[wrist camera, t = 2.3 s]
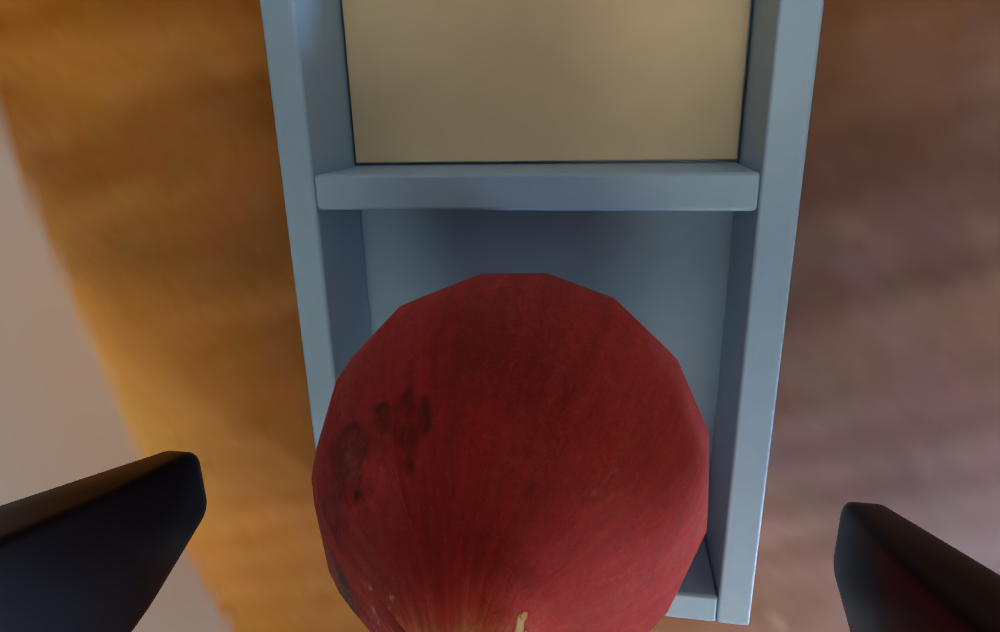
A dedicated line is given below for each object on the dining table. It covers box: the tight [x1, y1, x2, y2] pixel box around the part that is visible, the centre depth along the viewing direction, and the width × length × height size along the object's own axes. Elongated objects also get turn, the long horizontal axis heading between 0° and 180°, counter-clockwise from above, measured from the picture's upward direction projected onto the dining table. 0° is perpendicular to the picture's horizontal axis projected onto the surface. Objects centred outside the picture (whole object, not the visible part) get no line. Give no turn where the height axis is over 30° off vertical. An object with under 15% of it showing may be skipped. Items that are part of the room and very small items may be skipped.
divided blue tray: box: [260, 0, 824, 625], centre depth 11 cm, size 8×16×2 cm, turn 1°
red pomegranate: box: [312, 273, 709, 632], centre depth 10 cm, size 6×6×8 cm
